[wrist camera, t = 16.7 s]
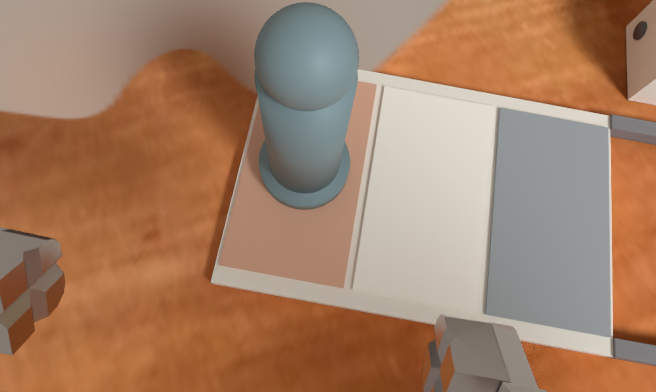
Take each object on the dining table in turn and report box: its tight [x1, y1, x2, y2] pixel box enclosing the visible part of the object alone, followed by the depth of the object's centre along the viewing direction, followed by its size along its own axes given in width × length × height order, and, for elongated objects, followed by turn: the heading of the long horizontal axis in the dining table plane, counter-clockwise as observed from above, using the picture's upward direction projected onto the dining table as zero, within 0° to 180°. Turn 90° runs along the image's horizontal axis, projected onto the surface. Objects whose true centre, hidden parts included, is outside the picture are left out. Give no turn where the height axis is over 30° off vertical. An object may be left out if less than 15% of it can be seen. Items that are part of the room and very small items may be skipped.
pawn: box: [254, 3, 359, 210], centre depth 22 cm, size 5×5×13 cm
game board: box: [211, 69, 656, 366], centre depth 28 cm, size 15×32×1 cm, turn 80°
